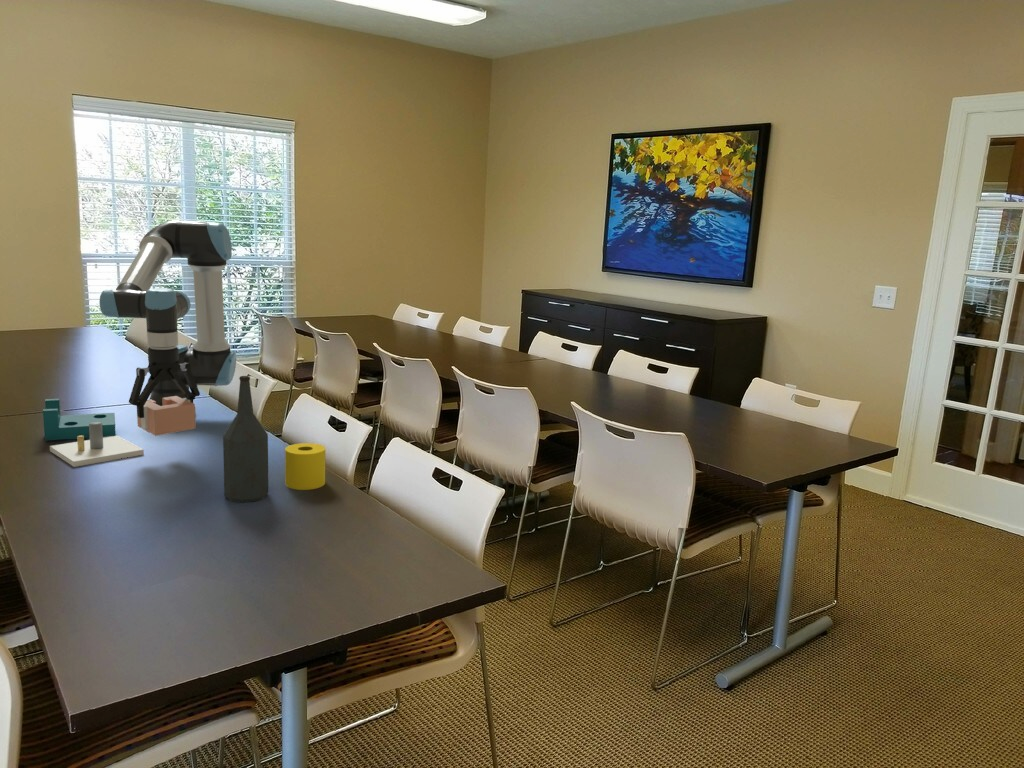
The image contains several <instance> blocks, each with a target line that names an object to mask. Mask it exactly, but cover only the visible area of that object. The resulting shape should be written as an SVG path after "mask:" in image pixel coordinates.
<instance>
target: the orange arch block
mask: <svg viewBox="0 0 1024 768" xmlns="http://www.w3.org/2000/svg"><path fill="white" fill-rule="evenodd" d="M145 405H146V406H147V411H148V430H145V431H146V432H148V433H149V434H152V435H153V436H155V437H156V436H161V435H167V434H173V433H177V432H185V431H189V430H195V429H197V428H196V404H195V403H194V402H193V403H191V402H189V401H187V400H184V399H182V398H180V397H178V396H172V397H165V398H162V405H163V406H159V405H157V404H156V401H154V400H149V399H147V401H146V403H145ZM136 418H137V427H139V428H141V418H139V417H138V416H137V415H136ZM141 429H142V428H141Z"/></svg>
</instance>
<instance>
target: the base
mask: <svg viewBox="0 0 1024 768" xmlns="http://www.w3.org/2000/svg"><path fill="white" fill-rule="evenodd" d="M89 434H90V438H89V439H87V440H85V438H84V436H77V438H76V439H77V441H73V442H66V443H60V444H54V445H49V452H51V453H52V454H54V455H55V456H57V457H58V458H60V459H61V460H63V461H64V462H65V463H67V464H69V465H70V466H72V467H73V468H76V467H81V466H87V465H94V464H98V463H99V464H100V463H105V462H110V461H115V460H116V461H117V460H122V459H126V458H127V457H128V458H133V457H137V456H144V455H145V451H144V450H145V449H144V448H142V447H140V446H138V445H136V444H135V443H132V442H130V441H129V440H127V439H124V438H123V437H122V436H119V435H115V436H105V437H103V432H102V423H101V422H92V423H89ZM121 458H122V459H121Z"/></svg>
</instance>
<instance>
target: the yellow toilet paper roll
mask: <svg viewBox="0 0 1024 768" xmlns="http://www.w3.org/2000/svg"><path fill="white" fill-rule="evenodd" d="M284 453H285V454H284V455H285V456H284V457H285V458H284V460H285V461H284V464H285V465H284V467H285V469H284V471H285V473H284V475H285V478H284V482H285V483H284V484H285V486H286V487H287V488H289V489H293V490H297V491H305V490H306V491H309V490H315V489H318V488H321V487H323V486H324V485H325V484H326V446H324V445H322V444H319V443H314V442H300V443H294V444H290V445H288V446H286V447H285V449H284Z"/></svg>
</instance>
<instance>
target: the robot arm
mask: <svg viewBox="0 0 1024 768" xmlns="http://www.w3.org/2000/svg"><path fill="white" fill-rule="evenodd" d="M138 248H139V251H138V253H137V254H136V256H135V257H134V259H133V261H132V262H131V264H130V265H129V267H128V269H127V271H126V272H125V274H124V276H123V277H122V279H121V281H120V282H119V284H118V285H117V287H116V289H112V288H111V289H104V290H102V292H101V294H100V296H99V302H98V303H99V309H100V311H101V313H102V315H104V316H105V317H106V318H107V317H111V318H117V319H120V318H123V319H124V318H125V319H127V318H129V319H146V339H147V346H148V348H147V358H148V359H147V360H148V364H147V367H136V369H135V373H136V374H135V375H136V377H135V380H134V383H133V386H132V389H131V392H130V396H129V399H128V403H129V404H130V405H132V406H136V417H137V416H138V417H139V418H141V429H143V430H144V431H146V430H148V411H147V406H146V405H145V403H146V401H147V400H154V401H156V404H157V405H159V406H163V405H162V398H165V397H172V396H178V397H180V398H182V399H184V400H187V401H189V402H191V403H194V400H195V399H196V397H199V396H200V395H201V392H200V390H199V388H198V386H213V387H219V386H220V387H221V386H222V387H223V386H229V385H230V384H232V381H233V379H234V376H235V372H236V366H237V354H236V351H233V350H231V344H230V343H228V342H227V341H226V334H225V313H224V292H223V291H224V290H223V287H224V286H223V272H222V271H223V269H224V268H225V267H226V266H227V261H229V260H231V259H232V254H233V252H232V250H233V247H232V240H231V235H230V233H229V231H228V228H227V227H226V226H225V224H223V223H222V222H221V223H220V222H213V221H205V220H203V221H198V220H180V219H178V220H177V219H176V220H169V221H165V222H163V223H160V224H158V225H156V226H155V227H153V228H152V229H150V230H149V231H148V232H147V233H146V234H145V235H144V236H143V237H142V239H141V240H140V242H139V246H138ZM172 258H180V259H181V258H183V259H187V265H188V266H189V267H190V268H191V269H192V270H193V271H192V272H193V289H194V290H193V291H194V303H195V305H194V307H195V318H196V319H195V321H196V322H195V323H196V339H197V340H196V342H195V344H194V345H192V349H189V347H188V345H186V344H179V335H178V320H179V319H182V318H183V317H185V316H186V315H187V314H188V313H189V311H190V310H191V306H192V305H191V304H192V303H191V299H190V298H189V296H188V295H187V294H185V293H184V292H183V291H180V290H174V289H173V288H163V287H162V288H161V287H160V288H159V287H155V288H152V287H153V284H154V282H155V280H156V278H157V277H158V274H159V273H160V271H161V269H162V268H163V266H164V265H165V264H166V263H168V262H170V260H171V259H172ZM148 373H149V375H150V376H149V377H148V379H147V383H146V385H145V386H144V388H143V385H144V382H145V380H146V379H145V378H146V376H147V375H148ZM142 389H143V390H142Z"/></svg>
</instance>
